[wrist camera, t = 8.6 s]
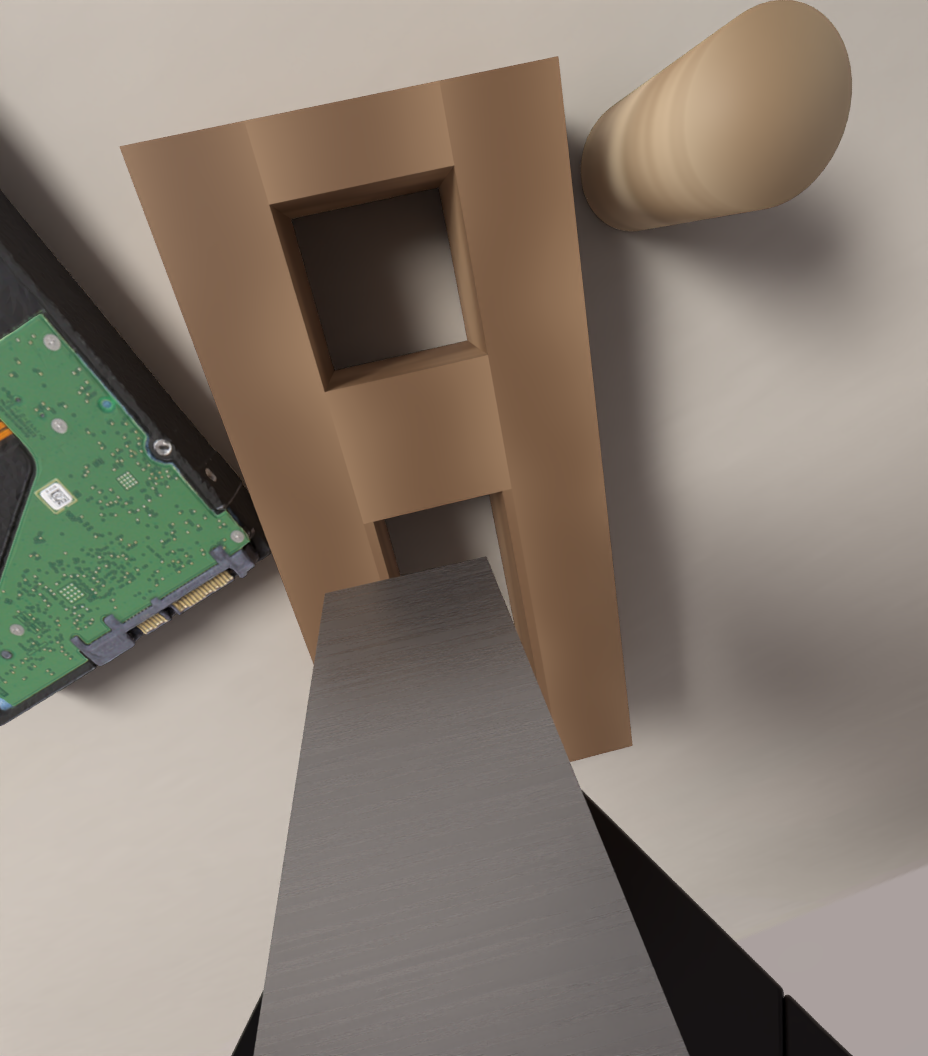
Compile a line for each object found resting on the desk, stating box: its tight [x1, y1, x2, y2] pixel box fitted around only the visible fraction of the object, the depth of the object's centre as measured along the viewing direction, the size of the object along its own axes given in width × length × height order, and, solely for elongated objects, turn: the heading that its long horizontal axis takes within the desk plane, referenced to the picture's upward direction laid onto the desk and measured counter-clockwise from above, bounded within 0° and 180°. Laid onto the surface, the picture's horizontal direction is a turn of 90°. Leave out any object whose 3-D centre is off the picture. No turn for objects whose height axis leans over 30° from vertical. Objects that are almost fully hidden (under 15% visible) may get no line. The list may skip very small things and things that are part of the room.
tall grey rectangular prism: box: [254, 557, 689, 1056], centre depth 6 cm, size 2×6×8 cm, turn 11°
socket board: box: [120, 56, 632, 762], centre depth 17 cm, size 9×19×4 cm, turn 12°
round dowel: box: [581, 0, 852, 231], centre depth 14 cm, size 3×3×6 cm
